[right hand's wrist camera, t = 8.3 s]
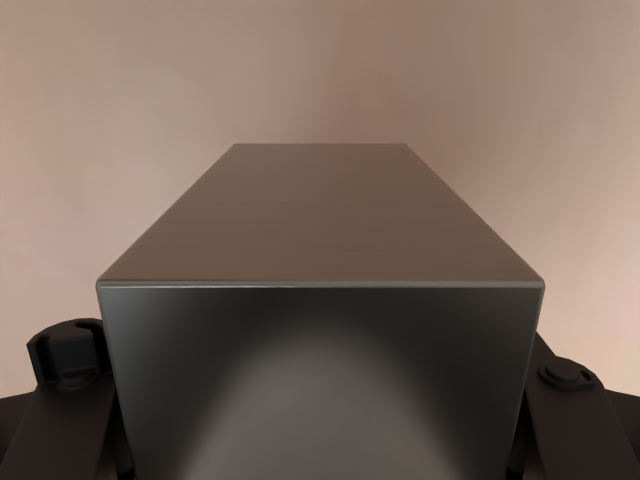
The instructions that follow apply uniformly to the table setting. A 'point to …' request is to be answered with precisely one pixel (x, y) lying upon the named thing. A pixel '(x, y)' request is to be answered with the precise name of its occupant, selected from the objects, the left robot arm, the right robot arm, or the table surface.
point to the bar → (320, 324)
